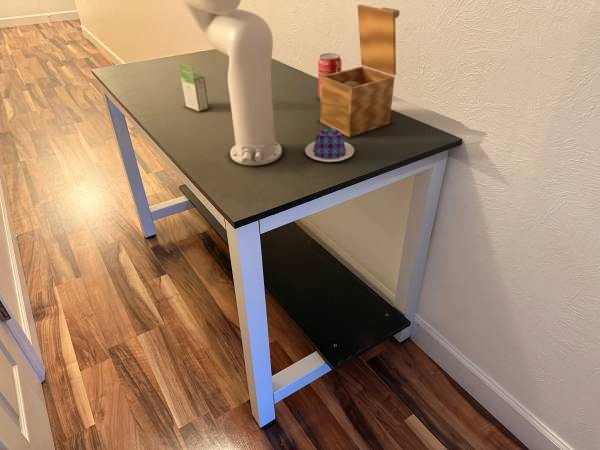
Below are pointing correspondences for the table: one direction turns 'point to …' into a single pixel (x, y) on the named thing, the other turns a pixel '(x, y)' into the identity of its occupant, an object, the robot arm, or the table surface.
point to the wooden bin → (356, 100)
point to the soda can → (328, 66)
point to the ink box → (194, 89)
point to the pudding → (329, 146)
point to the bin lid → (378, 38)
